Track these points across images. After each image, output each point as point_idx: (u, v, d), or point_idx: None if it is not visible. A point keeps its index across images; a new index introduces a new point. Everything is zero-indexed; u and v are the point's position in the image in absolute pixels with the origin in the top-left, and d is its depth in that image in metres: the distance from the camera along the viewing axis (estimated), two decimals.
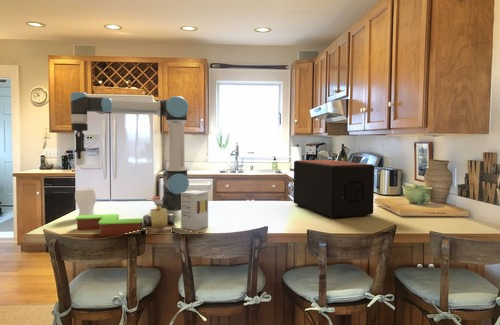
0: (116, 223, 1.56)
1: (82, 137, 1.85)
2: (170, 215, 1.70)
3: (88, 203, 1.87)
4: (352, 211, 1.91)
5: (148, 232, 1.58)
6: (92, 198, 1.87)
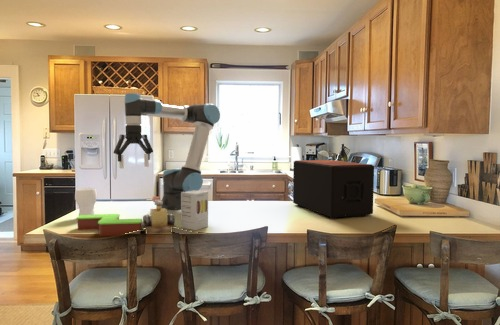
0: (115, 223, 1.56)
1: (129, 139, 1.79)
2: (170, 215, 1.70)
3: (88, 203, 1.87)
4: (352, 211, 1.91)
5: (148, 232, 1.58)
6: (92, 198, 1.87)
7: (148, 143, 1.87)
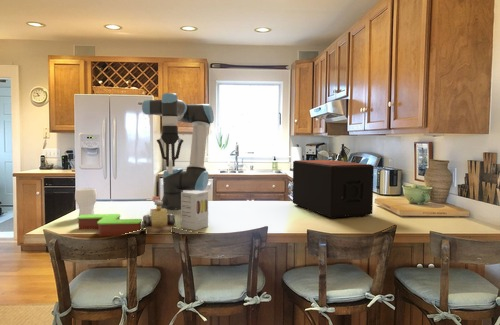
0: (114, 223, 1.56)
1: (166, 142, 1.77)
2: (170, 215, 1.70)
3: (88, 203, 1.87)
4: (352, 211, 1.91)
5: (148, 232, 1.58)
6: (92, 198, 1.87)
7: (179, 148, 1.79)
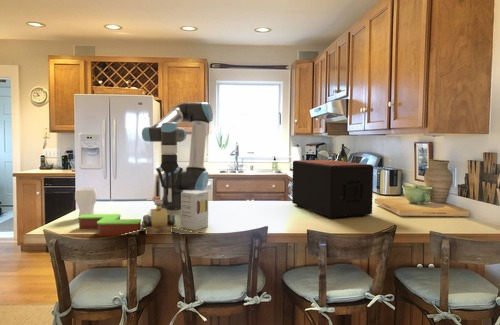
0: (114, 223, 1.56)
1: (165, 170, 1.77)
2: (170, 215, 1.70)
3: (88, 203, 1.87)
4: (351, 211, 1.91)
5: (148, 232, 1.58)
6: (92, 198, 1.87)
7: (178, 177, 1.80)
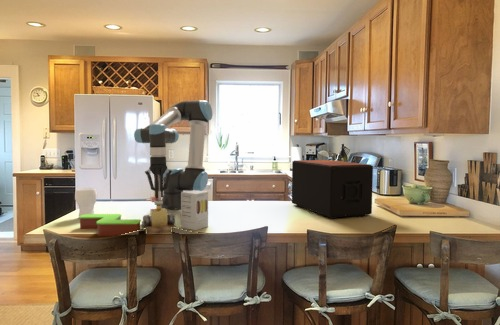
0: (113, 223, 1.56)
1: (155, 173, 1.75)
2: (170, 215, 1.70)
3: (88, 203, 1.87)
4: (351, 211, 1.91)
5: (148, 232, 1.58)
6: (92, 198, 1.87)
7: (167, 179, 1.78)
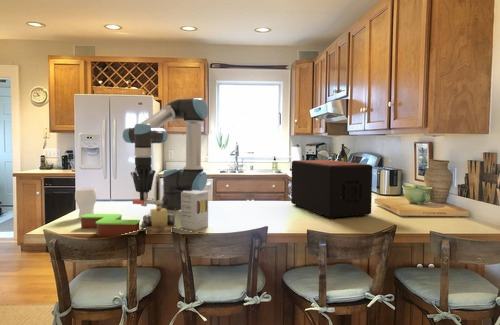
0: (111, 224, 1.55)
1: (142, 174, 1.70)
2: (170, 215, 1.70)
3: (88, 203, 1.87)
4: (351, 211, 1.91)
5: (148, 232, 1.58)
6: (92, 198, 1.87)
7: (152, 179, 1.75)
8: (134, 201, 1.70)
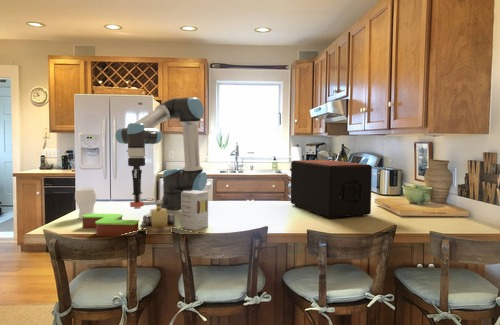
0: (110, 224, 1.55)
1: (139, 175, 1.65)
2: (170, 215, 1.70)
3: (88, 203, 1.87)
4: (350, 211, 1.91)
5: (148, 232, 1.58)
6: (92, 198, 1.87)
7: (140, 180, 1.71)
8: (133, 204, 1.63)
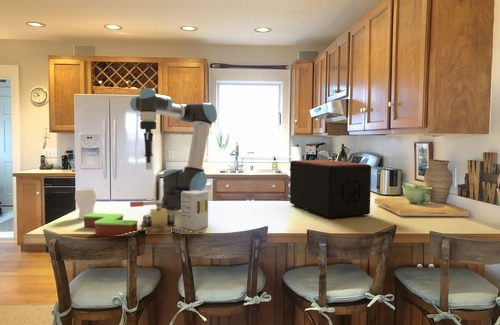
0: (109, 224, 1.55)
1: (151, 138, 1.76)
2: (170, 215, 1.70)
3: (88, 203, 1.87)
4: (349, 211, 1.91)
5: (148, 232, 1.58)
6: (92, 198, 1.87)
7: (151, 144, 1.82)
8: (132, 204, 1.63)
